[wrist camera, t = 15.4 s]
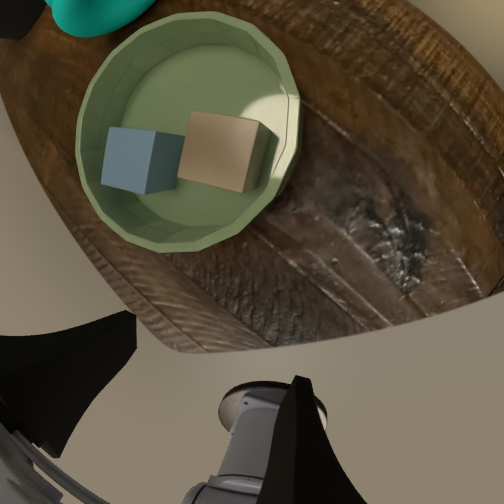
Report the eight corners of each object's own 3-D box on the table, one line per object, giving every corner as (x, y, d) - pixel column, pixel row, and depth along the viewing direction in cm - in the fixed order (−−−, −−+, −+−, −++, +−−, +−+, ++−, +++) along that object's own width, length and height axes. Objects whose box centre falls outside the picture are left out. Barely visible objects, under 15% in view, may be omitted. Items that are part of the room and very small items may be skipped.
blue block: (175, 188, 19) (144, 195, 15) (133, 178, 20) (100, 184, 16) (186, 136, 18) (156, 131, 14) (142, 130, 18) (109, 126, 15)
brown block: (257, 188, 18) (242, 193, 14) (203, 174, 18) (176, 177, 15) (272, 130, 16) (260, 121, 13) (216, 119, 17) (191, 109, 13)
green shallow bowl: (272, 258, 20) (258, 287, 15) (106, 206, 22) (66, 217, 17) (326, 56, 14) (328, 23, 10) (141, 43, 16) (105, 25, 12)
